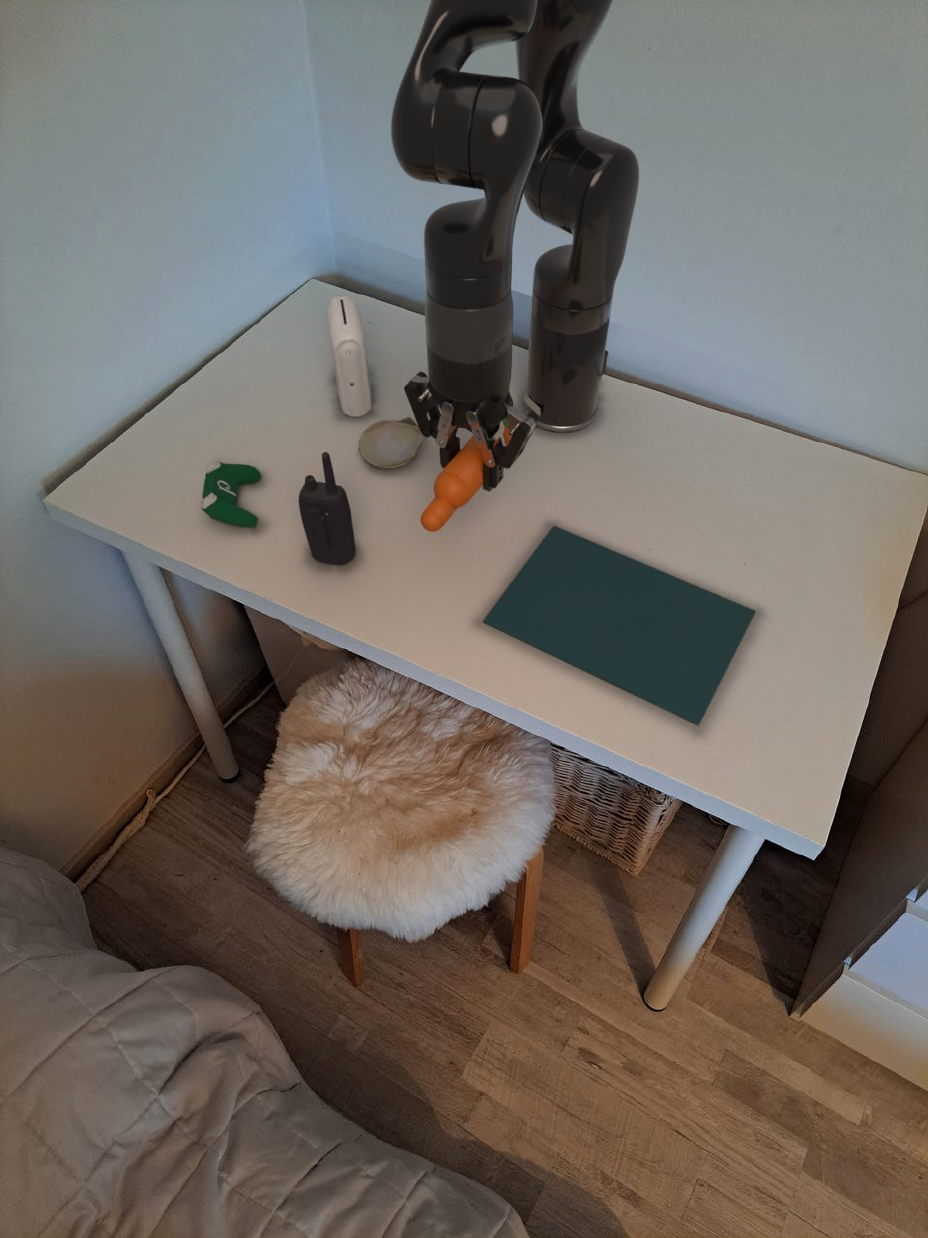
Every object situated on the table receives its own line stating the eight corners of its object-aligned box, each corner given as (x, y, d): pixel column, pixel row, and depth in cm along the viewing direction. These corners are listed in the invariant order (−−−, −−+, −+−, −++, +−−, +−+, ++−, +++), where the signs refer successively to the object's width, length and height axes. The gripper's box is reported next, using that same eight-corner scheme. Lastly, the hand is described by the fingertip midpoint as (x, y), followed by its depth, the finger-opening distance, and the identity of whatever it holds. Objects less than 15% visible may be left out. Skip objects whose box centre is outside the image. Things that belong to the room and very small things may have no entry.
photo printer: (375, 415, 108) (365, 332, 98) (341, 419, 108) (329, 336, 98) (366, 367, 114) (356, 284, 104) (335, 371, 114) (322, 287, 104)
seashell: (356, 457, 106) (380, 483, 100) (347, 437, 104) (371, 463, 98) (412, 426, 107) (439, 451, 102) (404, 406, 105) (431, 430, 99)
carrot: (492, 430, 91) (492, 401, 88) (524, 443, 90) (526, 413, 87) (409, 528, 83) (406, 499, 80) (444, 543, 81) (442, 514, 78)
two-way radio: (361, 548, 94) (345, 446, 82) (349, 577, 92) (331, 476, 80) (315, 540, 95) (292, 438, 83) (302, 569, 92) (276, 468, 80)
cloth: (553, 527, 96) (554, 525, 96) (755, 612, 88) (755, 610, 88) (483, 622, 88) (483, 621, 88) (698, 725, 80) (699, 724, 80)
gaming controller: (246, 487, 103) (202, 463, 99) (264, 469, 101) (219, 444, 97) (241, 542, 97) (194, 520, 94) (260, 524, 95) (213, 500, 92)
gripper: (562, 334, 72) (549, 479, 86) (423, 288, 76) (432, 433, 90) (521, 382, 68) (514, 526, 82) (377, 331, 73) (393, 476, 86)
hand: (471, 477), depth 86 cm, fingers closed on carrot, 4 cm apart
